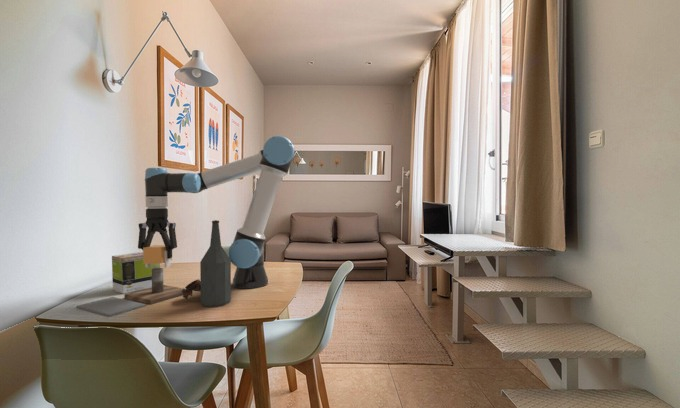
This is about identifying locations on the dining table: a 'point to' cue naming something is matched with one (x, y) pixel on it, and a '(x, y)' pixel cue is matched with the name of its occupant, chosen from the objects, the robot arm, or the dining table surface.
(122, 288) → the tea box
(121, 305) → the mat
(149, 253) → the orange foam cube
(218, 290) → the bottle
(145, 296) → the post stand
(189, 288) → the brown animal figurine
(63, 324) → the dining table surface
